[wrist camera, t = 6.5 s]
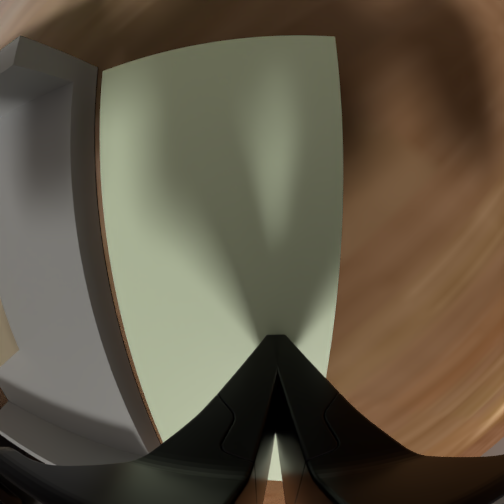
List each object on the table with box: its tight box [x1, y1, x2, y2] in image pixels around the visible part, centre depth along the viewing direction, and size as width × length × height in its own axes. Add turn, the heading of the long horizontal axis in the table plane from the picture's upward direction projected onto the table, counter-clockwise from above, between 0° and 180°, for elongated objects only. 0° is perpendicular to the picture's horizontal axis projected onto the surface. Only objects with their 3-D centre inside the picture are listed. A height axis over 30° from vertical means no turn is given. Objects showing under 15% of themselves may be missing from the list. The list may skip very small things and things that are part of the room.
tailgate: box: [100, 35, 343, 481], centre depth 9 cm, size 1×18×7 cm
